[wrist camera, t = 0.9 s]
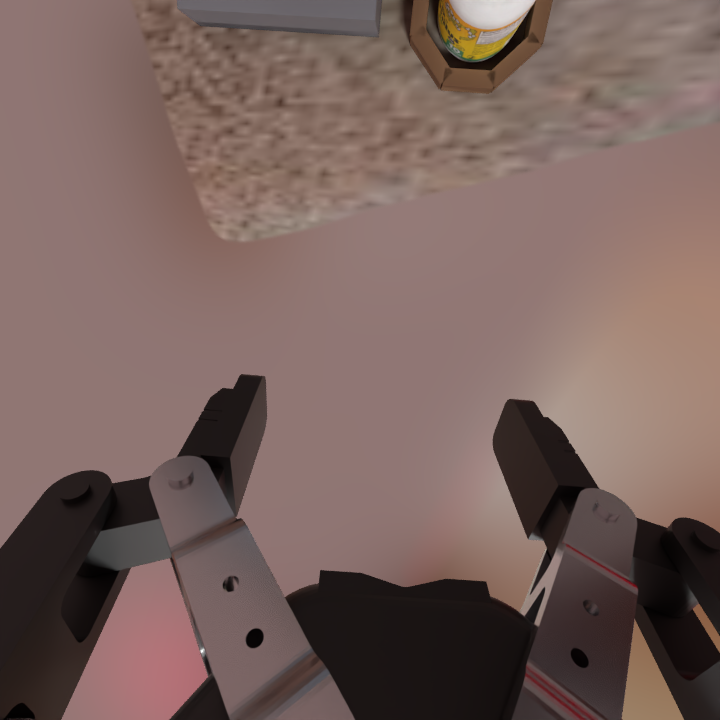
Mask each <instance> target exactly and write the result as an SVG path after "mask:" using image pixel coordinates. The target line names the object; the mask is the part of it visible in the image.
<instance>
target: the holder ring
mask: <svg viewBox="0 0 720 720" xmlns="http://www.w3.org/2000/svg"><path fill="white" fill-rule="evenodd" d="M552 1H553V0H536V1H535V2H534V4H533V6H532V7H531V8H530V10H529V14H528V19H527V24H526V29H525V34H524V38H523V42H521V43H520V44H519V45H518V46H517V47H516V48H515V49H514V50H513V51H512V52H511V53H510V54H509V55H507V56H506V57H505V58H504V59H503V60H502V61H501V62H500V63H499V64H498V65H497V66H496V67H495V68H493V69H492V70H491V71H490V70H475V69H460V68H450V67H449V66H448V64H447V62H446V61H445V59H444V58H443V56H442V55H441V53H440V51H439V50H438V48H437V47H436V45H435V44H434V42H433V40H432V39H431V37H430V36H429V34H428V33H427V31H426V25H427V16H428V8H429V0H413V10H412V19H411V28H410V46H411V47H412V49H413V50H414V52H415V53H416V55H417V56H418V58H419V59H420V61H421V62H422V64H423V65H424V67H425V68H426V70H427V72H428V73H429V75H430V76H431V78H432V79H433V81H434V82H435V84H436V85H437V87H438V88H439V89H440V88H441V90H444V91H458V92H472V93H486V94H489V93H490V92H492V91H494V90H495V89H496V88H497V87H498V86H499V85H500V84H501V83H502V82H504V81H505V80H506V79H507V78H508V77H509V76H510V75H511V74H512V73H513V72H515V71H516V70H517V69H518V68H519V67H520V66H521V65H522V64H523V63H525V62H526V61H527V60H528V59H529V58H530V57H531V56H532V55H533V54H534V53H535V52H536V51H537V50H538V49H539V48H540V47H541V45H542V44H543V41H544V37H545V32H546V28H547V23H548V19H549V15H550V10H551V6H552Z"/></svg>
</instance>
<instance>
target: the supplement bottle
mask: <svg viewBox="0 0 720 720" xmlns="http://www.w3.org/2000/svg"><path fill="white" fill-rule="evenodd" d="M535 1H536V0H440V1H439V7H438V29H439V34H440V37H441V40H442V42H443V44H444V45H445V47H446V48H447V50H448V51H449V52H450V53H452V54H453V55H454V56H455V57H456V58H458V59H460V60H462V61H464V62H468V63H477V62H482V61H485V60H487V59H489V58H491V57H493V56H494V55H496V54H497V53H498V52H500V51H501V50H502V49H503V48H504V47H505V46H506V44H507V43H508V42H509V40H510V39H511V38H512V36H513V35H514V33H515V32H516V30H517V29H518V27H519V26H520V24H521V22H522V21H523V19H524V18H525V16H526V15H527V13H528V12H529V10H530V8H531V7H532V6H533V4H534V2H535Z"/></svg>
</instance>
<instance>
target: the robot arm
mask: <svg viewBox="0 0 720 720" xmlns="http://www.w3.org/2000/svg"><path fill="white" fill-rule="evenodd" d="M266 402H267V401H266V380H265V376H256V375H244V374H241V375H240V376H239V378H238V381H237V383H236V384H235V386H234V388H233V389H226V388H222V389H221V390H220V391H218V392H217V393H216V394H214V395H213V396H212V397H211V398H210V399H209V401H208V403H207V405H206V406H205V408H204V411H203V412H202V414H201V415H200V417H199V420H198V421H197V422H196V424H195V426H194V428H193V430H192V431H191V433H190V435H189V437H188V438H187V440H186V442H185V444H184V446H183V447H182V449H181V451H180V453H179V454H178V456H177V457H176V458H173V459H171V460H168V461H166V462H165V463H163V464H162V465H160V466H159V467H158V468H157V469H156V470H155V471H154V472H153V474H152V475H151V476H149V477H145V478H141V479H136V480H130V481H124V482H118V483H112V482H111V479H110V478H109V476H108V475H106V474H105V473H103V472H100V471H94V470H90V471H81V472H78V473H74V474H71V475H68V476H66V477H64V478H62V479H60V480H59V481H57V482H56V483H54V484H53V485H52V486H50V487H49V488H48V489H47V490H46V491H45V492H44V494H43V495H42V496H41V498H40V499H39V500H38V501H37V503H36V504H35V505H34V507H33V508H32V509H31V510H30V511H29V513H28V514H27V515H26V517H25V518H24V519H23V521H22V522H21V523H20V524H19V525H18V527H17V528H16V529H15V531H14V532H13V533H12V534H11V536H10V537H9V538H8V540H7V541H6V542H5V543H4V545H3V546H2V547H1V548H0V720H61V719H62V716H63V714H64V712H65V710H66V708H67V706H68V703H69V701H70V699H71V697H72V695H73V693H74V690H75V688H76V686H77V684H78V682H79V680H80V677H81V675H82V673H83V671H84V669H85V667H86V664H87V662H88V660H89V658H90V656H91V653H92V651H93V649H94V647H95V645H96V643H97V640H98V638H99V636H100V634H101V632H102V630H103V627H104V625H105V623H106V621H107V619H108V617H109V614H110V612H111V610H112V608H113V606H114V603H115V601H116V599H117V597H118V595H119V593H120V590H121V588H122V586H123V584H124V582H125V580H126V577H127V575H128V573H129V571H130V569H131V567H135V566H139V565H143V564H147V563H151V562H155V561H160V560H164V559H168V558H170V561H171V564H172V567H173V570H174V573H175V576H176V579H177V582H178V585H179V588H180V591H181V594H182V597H183V600H184V603H185V606H186V609H187V612H188V615H189V618H190V622H191V625H192V628H193V631H194V634H195V638H196V641H197V644H198V647H199V650H200V653H201V657H202V659H203V662H204V666H205V669H206V671H207V675H208V678H207V679H206V680H205V681H204V682H203V683H202V684H201V686H200V687H199V688H198V689H197V690H196V691H195V692H194V693H193V694H192V696H191V697H190V698H189V699H188V700H187V701H186V702H185V703H184V704H183V705H182V706H181V708H180V709H179V710H178V711H177V712H176V713H175V714H174V715H173V716H172V718H171V719H170V720H622V712H623V704H624V696H625V689H626V681H627V673H628V666H629V658H630V650H631V642H632V634H633V627H634V619H635V620H636V622H637V624H638V626H639V628H640V630H641V632H642V634H643V636H644V638H645V640H646V642H647V644H648V647H649V649H650V651H651V653H652V655H653V657H654V659H655V661H656V663H657V665H658V667H659V669H660V671H661V673H662V675H663V677H664V679H665V681H666V683H667V685H668V687H669V689H670V691H671V694H672V695H673V698H674V700H675V701H676V704H677V706H678V708H679V710H680V712H681V714H682V716H683V718H684V720H720V653H719V651H718V650H717V648H716V646H715V645H714V643H713V641H712V640H711V638H710V637H709V635H708V633H707V632H706V630H705V628H704V627H703V625H702V624H701V622H700V620H699V619H698V617H697V616H696V614H695V613H694V611H693V608H694V607H695V606H696V605H697V604H700V605H701V607H702V609H703V610H704V612H705V613H706V615H707V616H708V618H709V620H710V621H711V622H712V624H713V626H714V627H715V629H716V631H717V632H718V634H719V636H720V533H719V532H717V531H716V530H715V529H713V528H711V527H709V526H708V525H706V524H704V523H702V522H699V521H697V520H694V519H690V518H678V519H675V520H674V521H673V522H672V523H671V525H670V526H669V527H668V528H666V527H663V526H660V525H656V524H654V523H651V522H648V521H645V520H642V519H639V518H636V517H635V514H634V513H633V511H632V510H631V509H630V508H629V506H628V505H626V504H625V503H624V502H623V501H622V500H621V499H619V498H618V497H616V496H615V495H613V494H611V493H609V492H606V491H604V490H601V489H599V488H598V486H597V484H596V483H595V481H594V480H593V478H592V476H591V475H590V473H589V472H588V470H587V469H586V467H585V466H584V464H583V462H582V461H581V459H580V458H579V456H578V454H575V450H574V448H573V447H572V445H571V444H570V443H569V440H568V439H567V437H566V436H565V434H564V432H563V431H562V429H561V428H560V427H558V426H557V425H556V424H555V423H554V422H553V421H551V420H550V419H549V418H548V417H543V415H542V414H541V412H540V410H539V409H538V407H537V405H536V404H535V402H533V401H528V400H516V399H509V400H507V402H506V403H505V406H504V408H503V411H502V414H501V416H500V419H499V422H498V424H497V427H496V429H495V432H494V436H493V449H494V453H495V455H496V458H497V461H498V463H499V466H500V468H501V471H502V473H503V476H504V479H505V481H506V484H507V486H508V489H509V491H510V494H511V496H512V499H513V502H514V504H515V507H516V509H517V512H518V515H519V517H520V520H521V522H522V525H523V528H524V530H525V533H526V535H527V538H528V539H529V540H542V541H544V542H545V545H546V547H547V548H546V549H545V551H544V553H543V555H542V557H541V560H540V562H539V565H538V568H537V570H536V573H535V575H534V578H533V580H532V583H531V586H530V588H529V591H528V593H527V596H526V599H525V601H524V603H523V606H522V608H521V610H520V612H518V611H517V610H515V609H514V608H512V607H511V606H509V605H507V604H506V603H504V602H502V601H500V600H498V599H496V598H493V597H490V594H489V591H488V587H487V583H486V582H484V581H470V580H455V579H443V580H438V581H434V582H429V583H425V584H420V585H415V586H411V587H401V586H398V585H395V584H392V583H389V582H386V581H383V580H381V579H378V578H375V577H372V576H369V575H366V574H362V573H353V572H339V571H324V570H321V571H320V578H319V583H318V584H314V585H309V586H307V587H304V588H301V589H299V590H297V591H295V592H293V593H291V594H289V595H288V596H286V597H284V595H283V593H282V591H281V589H280V587H279V585H278V584H277V582H276V580H275V578H274V576H273V574H272V572H271V571H270V569H269V567H268V565H267V563H266V561H265V559H264V557H263V555H262V553H261V551H260V550H259V548H258V546H257V544H256V542H255V540H254V538H253V537H252V534H251V533H250V531H249V529H248V527H247V525H246V524H245V522H244V521H243V520H242V519H241V518H240V519H237V518H236V516H237V514H238V511H239V508H240V505H241V502H242V499H243V496H244V493H245V490H246V487H247V483H248V480H249V477H250V474H251V471H252V468H253V465H254V462H255V459H256V456H257V453H258V450H259V447H260V444H261V441H262V437H263V434H264V431H265V427H266V420H267V403H266Z"/></svg>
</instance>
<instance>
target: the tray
mask: <svg viewBox="0 0 720 720" xmlns="http://www.w3.org/2000/svg"><path fill="white" fill-rule="evenodd" d="M381 3H382V0H177V6H178V9H179V10H180V11H181V12H183V13H184V14H185V15H187V16H188V17H189V18H191V19H192V20H193V21H195V22H196V23H197V24H199V25H200V26H209V27H225V28H241V29H256V30H272V31H288V32H304V33H320V34H336V35H352V36H368V37H379V28H380V16H381Z"/></svg>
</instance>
